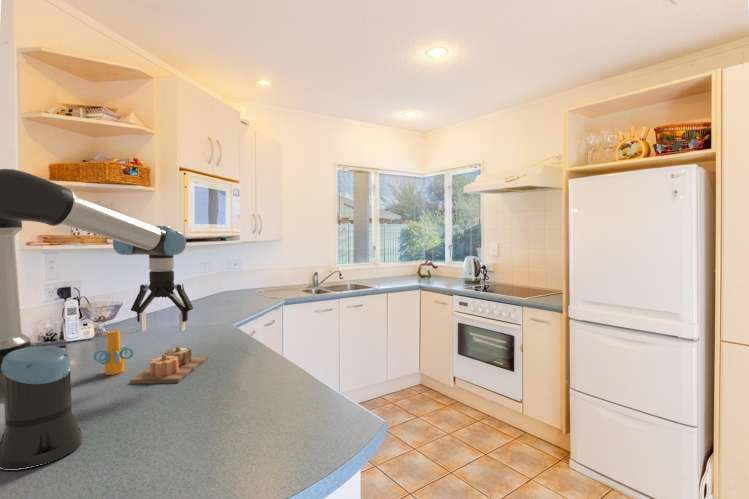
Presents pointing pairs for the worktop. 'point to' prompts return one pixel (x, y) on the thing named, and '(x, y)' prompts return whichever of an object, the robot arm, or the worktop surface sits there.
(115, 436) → the worktop surface
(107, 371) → the orange post with rings
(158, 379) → the gear board
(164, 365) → the gear
